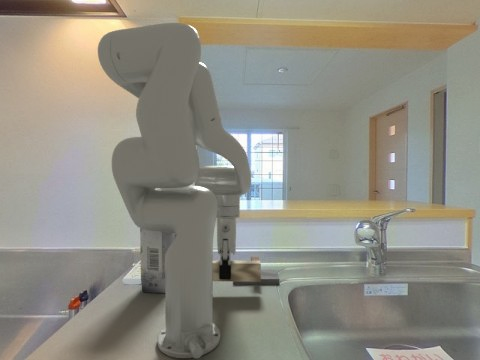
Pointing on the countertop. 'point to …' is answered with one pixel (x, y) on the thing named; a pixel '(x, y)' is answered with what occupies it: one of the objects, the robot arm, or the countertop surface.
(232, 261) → the beech bar
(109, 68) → the robot arm
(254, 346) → the countertop surface
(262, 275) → the grey slab with post
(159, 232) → the juice carton
